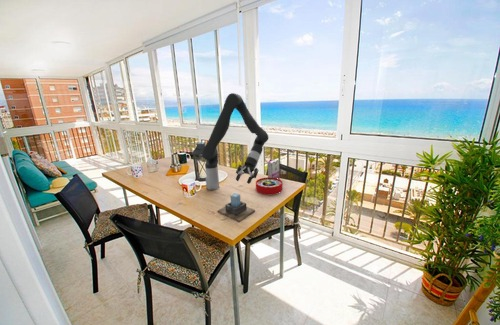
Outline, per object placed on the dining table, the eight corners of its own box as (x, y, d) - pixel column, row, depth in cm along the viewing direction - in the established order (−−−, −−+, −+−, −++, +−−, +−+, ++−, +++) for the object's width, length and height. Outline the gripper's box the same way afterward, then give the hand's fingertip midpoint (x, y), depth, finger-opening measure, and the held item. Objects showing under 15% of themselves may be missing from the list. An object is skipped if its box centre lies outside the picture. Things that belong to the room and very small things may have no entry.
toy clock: (257, 177, 159) (282, 177, 155) (258, 183, 161) (282, 184, 157) (253, 186, 140) (281, 187, 136) (253, 194, 142) (281, 195, 138)
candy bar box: (274, 176, 174) (274, 158, 169) (279, 177, 171) (279, 159, 166) (267, 180, 166) (267, 161, 161) (272, 181, 163) (272, 162, 158)
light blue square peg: (231, 210, 118) (230, 195, 115) (235, 207, 121) (234, 193, 118) (236, 212, 116) (235, 197, 113) (240, 209, 119) (240, 194, 116)
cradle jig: (217, 211, 119) (216, 204, 118) (233, 203, 129) (233, 196, 128) (239, 221, 108) (238, 213, 107) (255, 211, 118) (254, 203, 117)
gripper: (241, 155, 127) (230, 177, 121) (259, 157, 119) (249, 181, 113) (246, 161, 133) (236, 182, 127) (264, 163, 125) (254, 186, 119)
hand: (242, 181), depth 120 cm, fingers open, 8 cm apart
